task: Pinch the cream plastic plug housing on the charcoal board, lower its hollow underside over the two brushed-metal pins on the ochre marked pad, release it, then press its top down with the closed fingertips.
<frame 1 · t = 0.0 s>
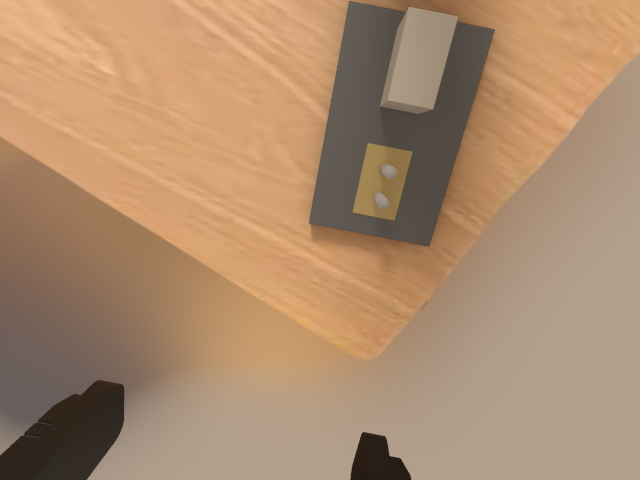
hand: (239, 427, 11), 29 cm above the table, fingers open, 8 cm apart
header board: (390, 135, 36), on the table
plug housing: (408, 72, 32), point 1 cm above the table, touching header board
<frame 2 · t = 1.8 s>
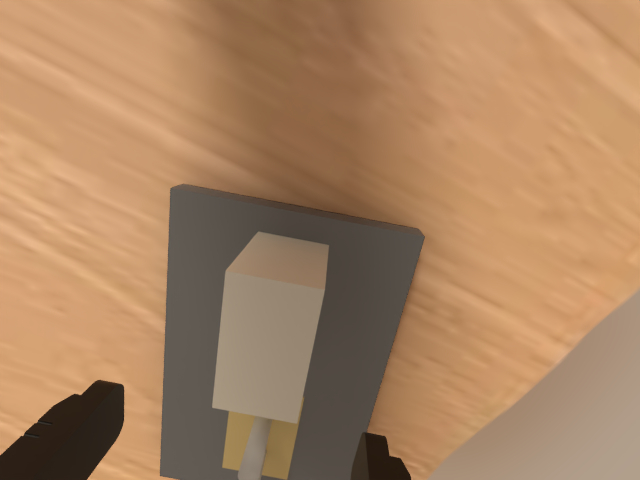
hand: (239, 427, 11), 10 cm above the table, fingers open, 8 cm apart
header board: (275, 360, 23), on the table
plug housing: (284, 293, 19), point 1 cm above the table, touching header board
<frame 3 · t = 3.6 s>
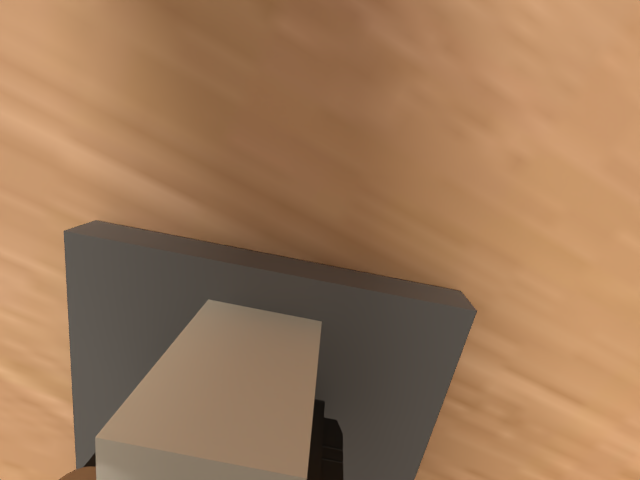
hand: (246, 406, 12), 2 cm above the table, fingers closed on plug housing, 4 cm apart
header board: (245, 468, 16), on the table
plug housing: (252, 391, 12), point 2 cm above the table, touching gripper, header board
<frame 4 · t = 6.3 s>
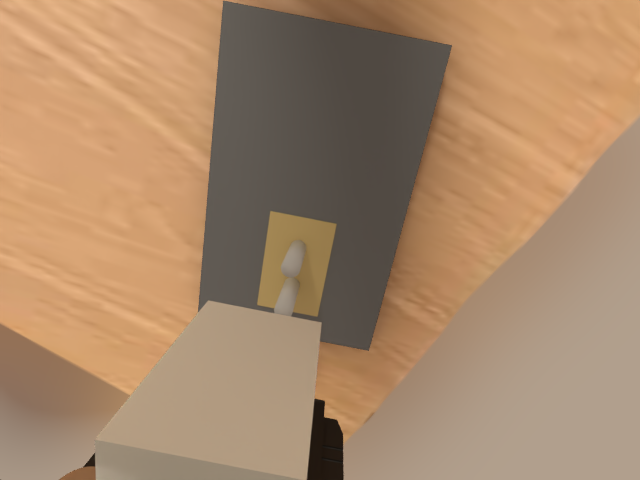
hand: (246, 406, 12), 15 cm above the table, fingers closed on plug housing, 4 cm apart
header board: (308, 197, 24), on the table
plug housing: (252, 392, 12), point 14 cm above the table, touching gripper
when the fingers open (3 cm above the table, at t = 9.1 s): plug housing stays where it is, resting on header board.
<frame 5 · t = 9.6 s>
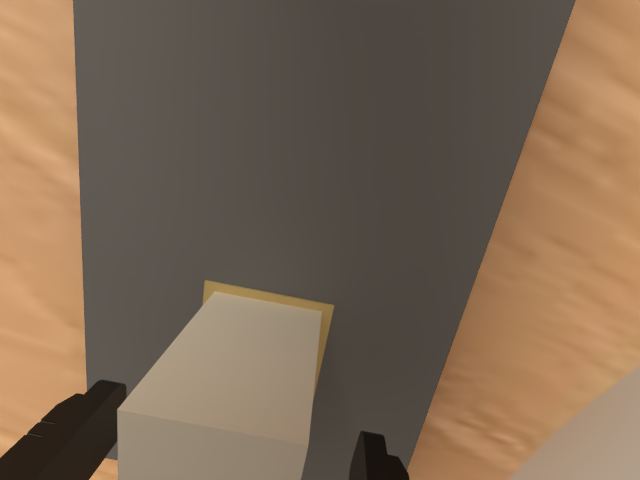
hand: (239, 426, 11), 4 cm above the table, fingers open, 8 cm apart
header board: (281, 249, 13), on the table
plug housing: (256, 379, 13), point 2 cm above the table, touching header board
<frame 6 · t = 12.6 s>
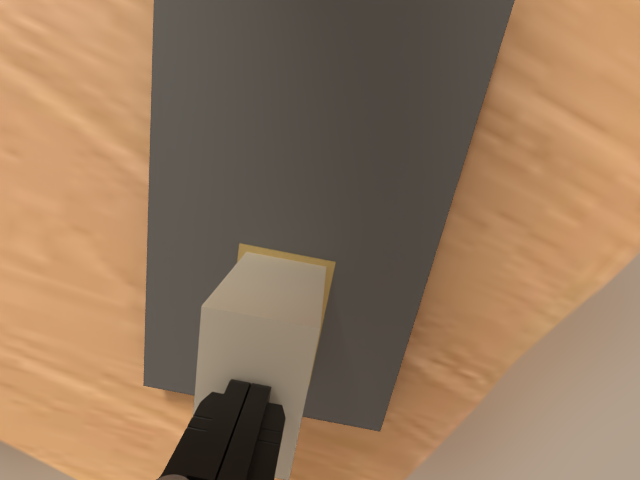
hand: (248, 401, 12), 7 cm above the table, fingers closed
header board: (295, 221, 17), on the table
plug housing: (276, 320, 17), point 2 cm above the table, touching gripper, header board
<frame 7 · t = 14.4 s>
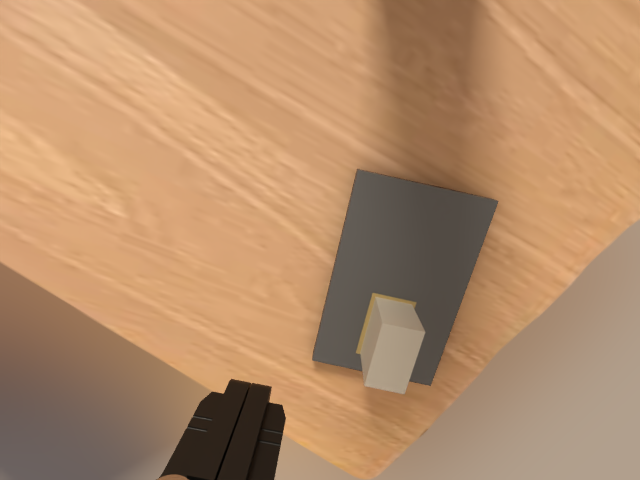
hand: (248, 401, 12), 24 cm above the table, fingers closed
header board: (395, 281, 36), on the table
plug housing: (385, 328, 36), point 2 cm above the table, touching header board
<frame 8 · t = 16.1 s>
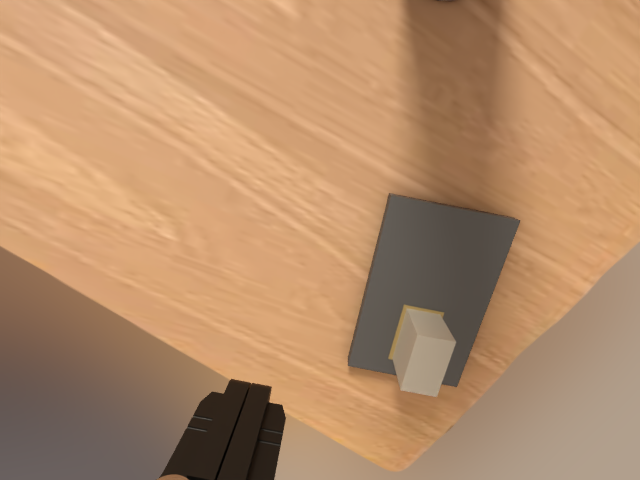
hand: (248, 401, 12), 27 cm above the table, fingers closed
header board: (423, 293, 39), on the table
plug housing: (415, 336, 39), point 2 cm above the table, touching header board
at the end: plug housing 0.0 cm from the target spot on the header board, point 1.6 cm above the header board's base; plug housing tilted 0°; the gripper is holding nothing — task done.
